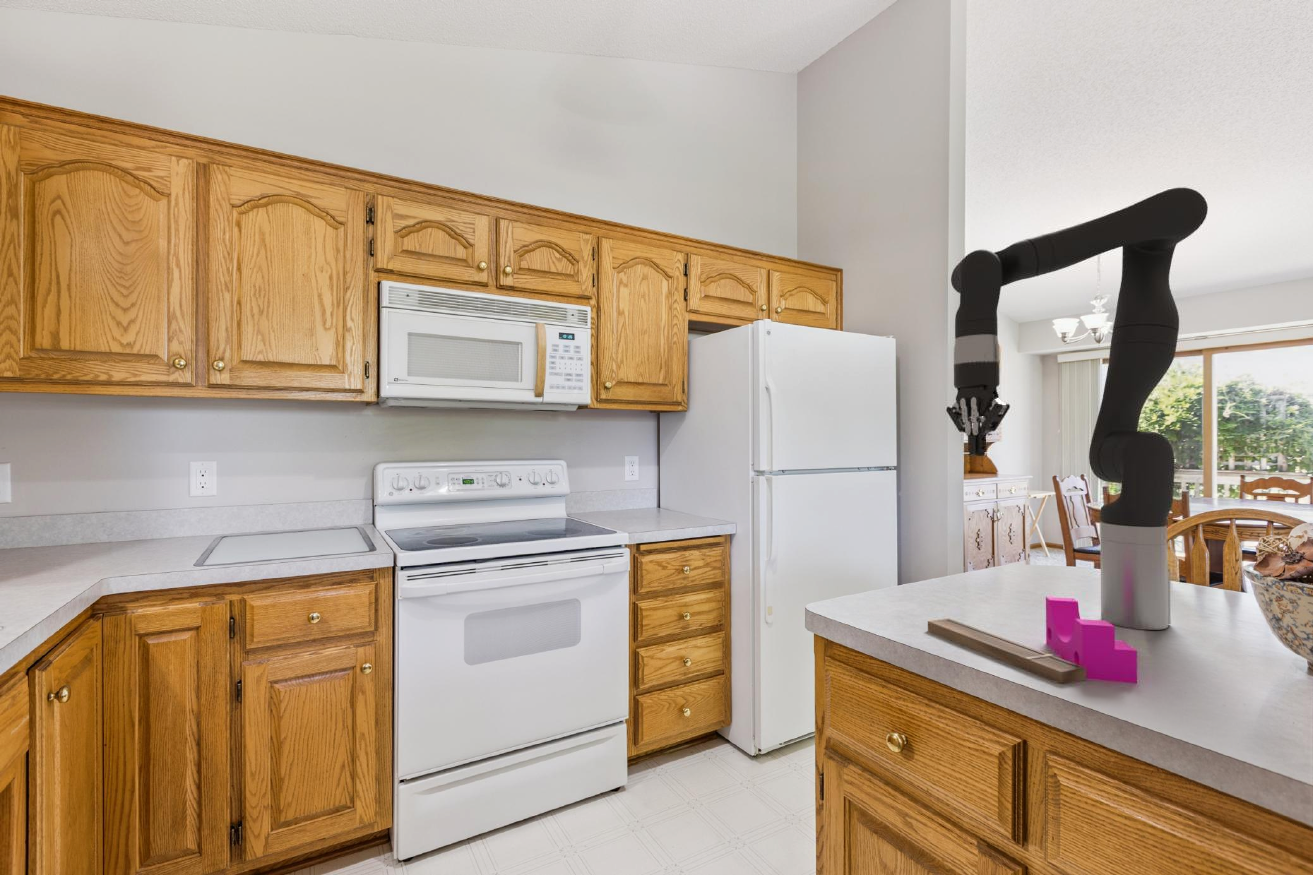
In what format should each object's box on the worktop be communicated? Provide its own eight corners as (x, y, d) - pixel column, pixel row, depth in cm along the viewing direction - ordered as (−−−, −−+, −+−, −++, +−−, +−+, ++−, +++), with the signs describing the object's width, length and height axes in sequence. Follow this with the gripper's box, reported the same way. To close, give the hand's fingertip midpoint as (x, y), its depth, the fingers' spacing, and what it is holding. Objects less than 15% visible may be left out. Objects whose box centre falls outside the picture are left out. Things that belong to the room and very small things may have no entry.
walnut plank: (949, 628, 106) (949, 618, 106) (1086, 679, 83) (1086, 666, 83) (927, 630, 104) (927, 620, 104) (1060, 684, 81) (1060, 670, 81)
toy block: (1137, 685, 82) (1136, 627, 82) (1082, 680, 83) (1081, 624, 83) (1092, 648, 96) (1091, 599, 96) (1046, 644, 98) (1045, 596, 98)
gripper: (1022, 358, 110) (1023, 456, 110) (964, 366, 123) (965, 454, 123) (989, 356, 108) (990, 456, 108) (933, 365, 120) (934, 455, 120)
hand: (976, 455), depth 115 cm, fingers closed
